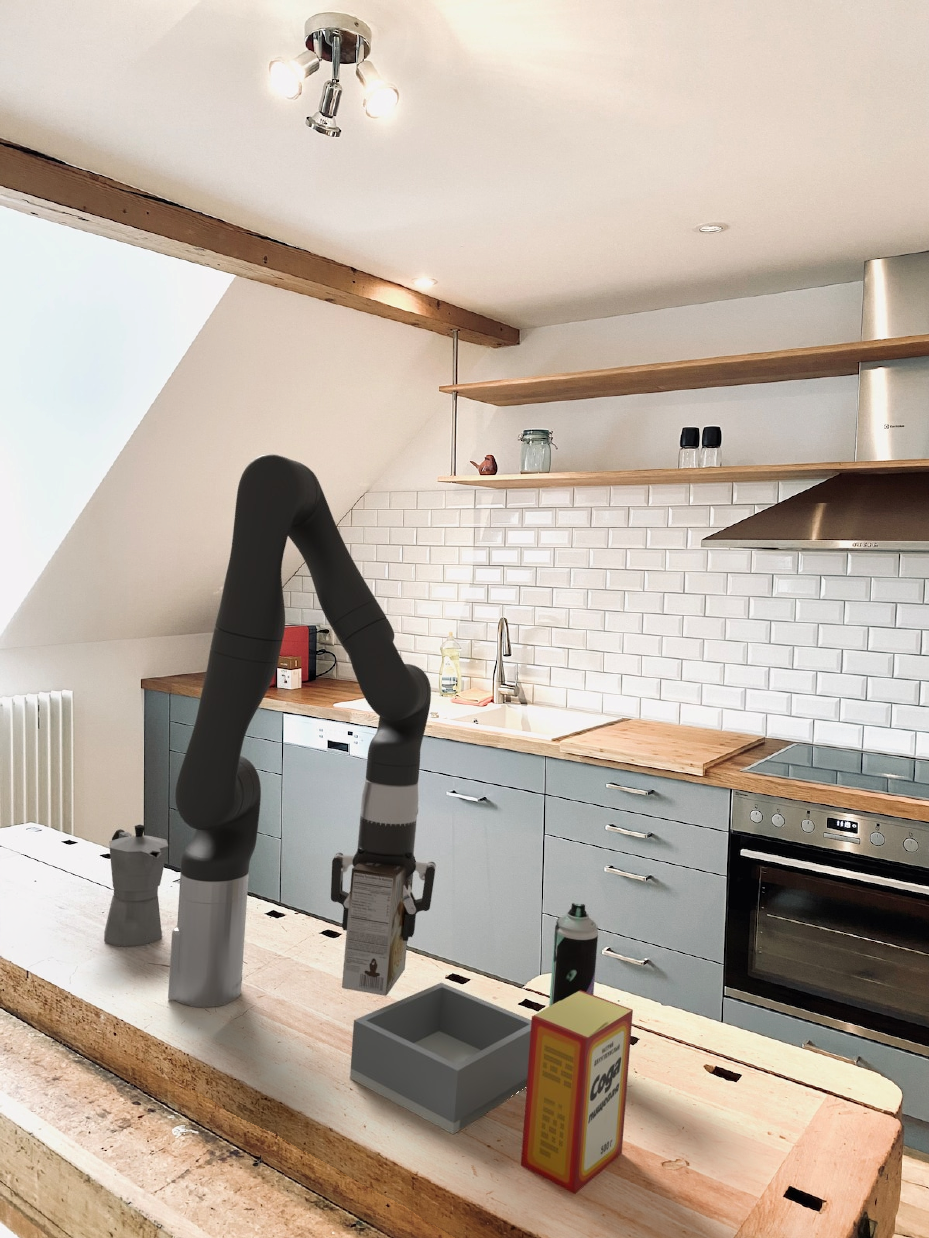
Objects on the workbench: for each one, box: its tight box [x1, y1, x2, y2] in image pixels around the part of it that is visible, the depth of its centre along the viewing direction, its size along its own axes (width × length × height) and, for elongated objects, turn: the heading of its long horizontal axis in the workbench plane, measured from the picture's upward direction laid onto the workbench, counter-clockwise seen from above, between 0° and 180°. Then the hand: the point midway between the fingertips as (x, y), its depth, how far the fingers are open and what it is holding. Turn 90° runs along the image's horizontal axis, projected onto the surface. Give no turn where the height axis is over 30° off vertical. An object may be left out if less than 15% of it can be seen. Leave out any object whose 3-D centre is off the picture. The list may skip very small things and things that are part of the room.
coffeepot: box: [104, 824, 169, 948], centre depth 151 cm, size 15×9×18 cm, turn 44°
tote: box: [349, 982, 532, 1135], centre depth 113 cm, size 16×16×7 cm
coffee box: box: [341, 856, 416, 996], centre depth 126 cm, size 9×6×16 cm
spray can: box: [548, 902, 599, 1007], centre depth 121 cm, size 6×6×20 cm
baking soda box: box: [520, 990, 634, 1195], centre depth 99 cm, size 10×6×16 cm
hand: (378, 935), depth 126 cm, fingers closed on coffee box, 7 cm apart
